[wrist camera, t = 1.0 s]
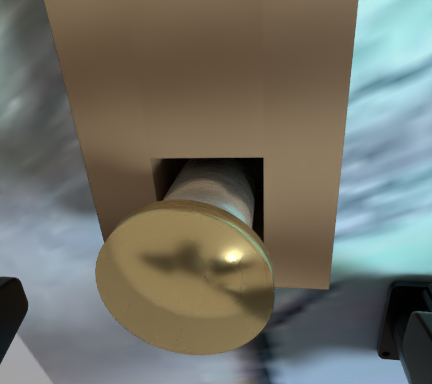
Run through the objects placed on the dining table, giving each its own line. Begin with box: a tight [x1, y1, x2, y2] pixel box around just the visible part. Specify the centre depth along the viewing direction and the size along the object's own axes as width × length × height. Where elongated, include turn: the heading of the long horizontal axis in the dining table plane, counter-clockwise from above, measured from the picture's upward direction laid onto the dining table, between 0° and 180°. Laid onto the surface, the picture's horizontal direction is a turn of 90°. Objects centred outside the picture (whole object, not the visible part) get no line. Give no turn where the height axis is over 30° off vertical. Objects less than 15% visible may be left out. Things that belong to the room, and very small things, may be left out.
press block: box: [44, 0, 358, 290], centre depth 15 cm, size 19×10×6 cm, turn 4°
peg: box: [95, 158, 274, 355], centre depth 13 cm, size 5×5×6 cm
